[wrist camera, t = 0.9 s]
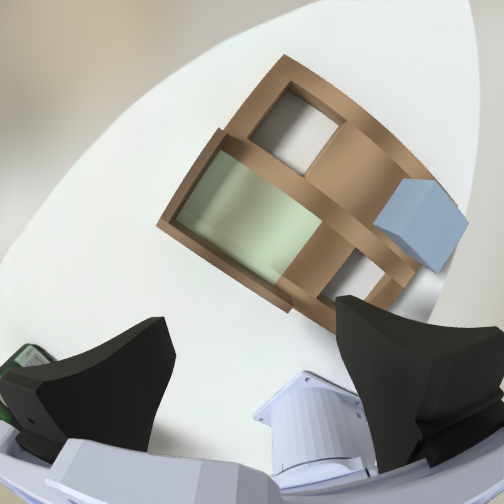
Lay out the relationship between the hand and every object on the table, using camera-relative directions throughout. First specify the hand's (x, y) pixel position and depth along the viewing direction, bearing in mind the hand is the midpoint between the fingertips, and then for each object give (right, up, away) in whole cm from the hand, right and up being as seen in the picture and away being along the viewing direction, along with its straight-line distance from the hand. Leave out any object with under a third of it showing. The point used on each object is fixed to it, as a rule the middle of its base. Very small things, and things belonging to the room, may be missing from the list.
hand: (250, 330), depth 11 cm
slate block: (+11, +6, +6) cm, 14 cm away
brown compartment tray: (+5, +6, +8) cm, 12 cm away
